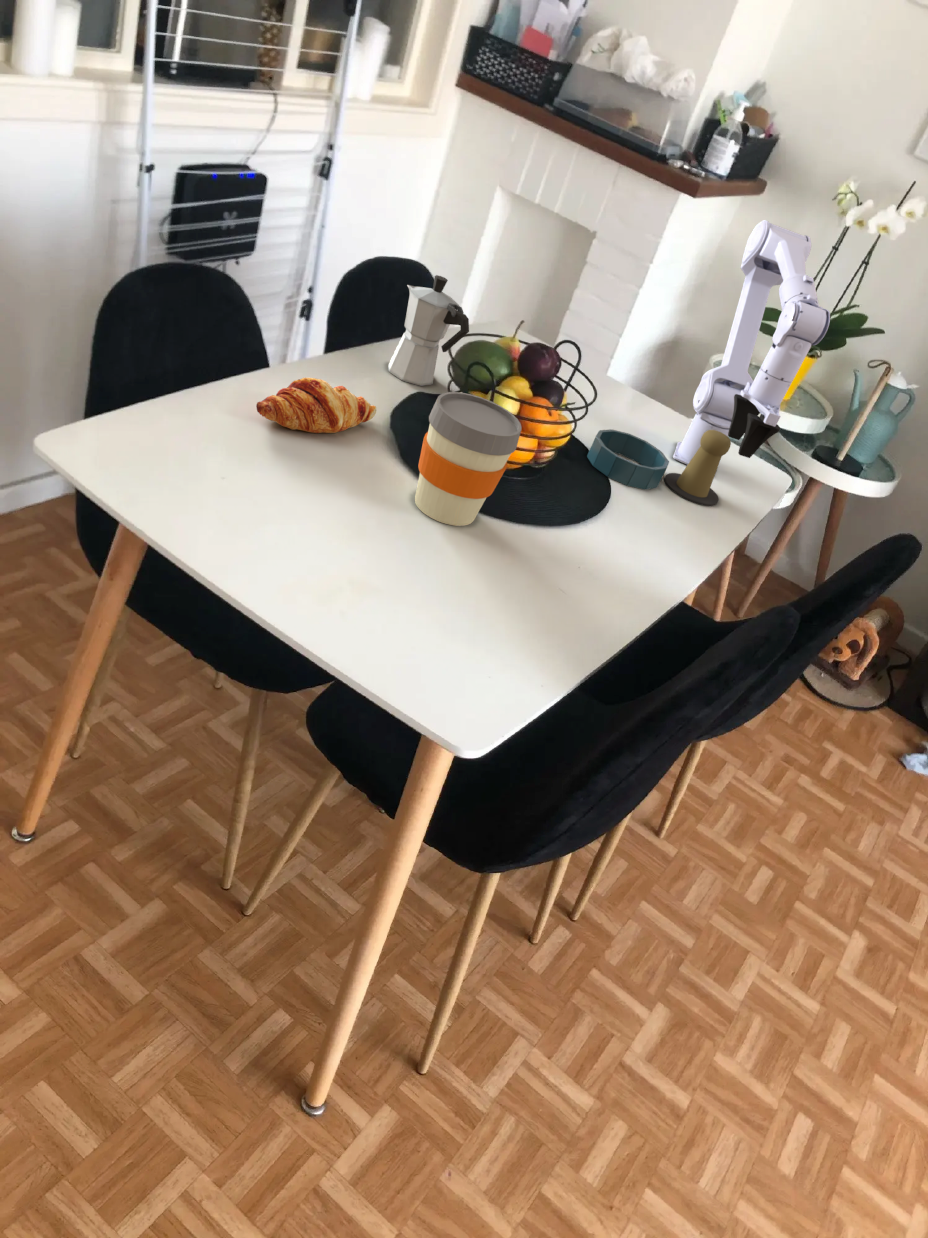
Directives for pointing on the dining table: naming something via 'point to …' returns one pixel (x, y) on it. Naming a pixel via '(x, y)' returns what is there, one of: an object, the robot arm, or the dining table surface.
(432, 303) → the coffee maker
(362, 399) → the croissant
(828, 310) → the robot arm
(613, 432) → the teal hollow ring
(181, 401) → the dining table surface
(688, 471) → the tan game pawn
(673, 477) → the black mat
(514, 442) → the reusable coffee cup
